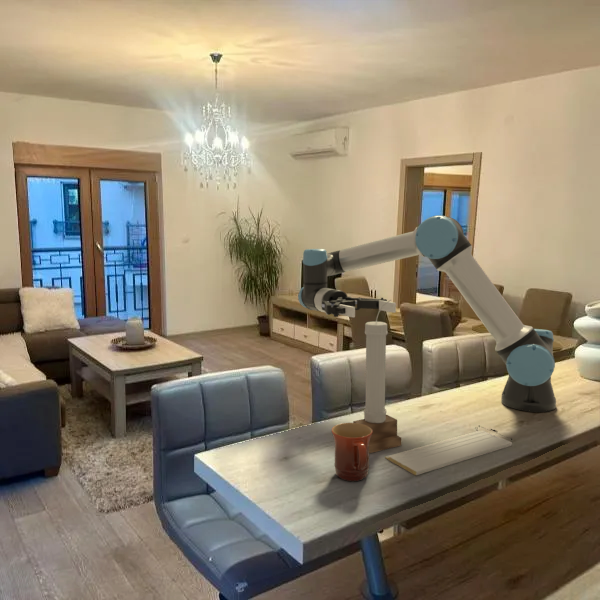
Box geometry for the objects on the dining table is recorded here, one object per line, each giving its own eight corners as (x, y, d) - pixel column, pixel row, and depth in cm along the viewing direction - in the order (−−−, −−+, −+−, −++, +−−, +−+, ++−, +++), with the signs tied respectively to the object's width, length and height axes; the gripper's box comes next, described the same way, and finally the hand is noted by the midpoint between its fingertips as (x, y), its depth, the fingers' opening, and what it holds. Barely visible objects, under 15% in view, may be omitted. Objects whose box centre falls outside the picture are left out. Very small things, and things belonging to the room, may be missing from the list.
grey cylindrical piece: (363, 415, 136) (364, 297, 132) (388, 416, 136) (390, 298, 131) (363, 423, 131) (365, 301, 127) (390, 424, 130) (392, 301, 126)
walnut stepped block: (381, 434, 140) (381, 412, 139) (401, 445, 133) (401, 422, 132) (349, 442, 135) (349, 419, 134) (367, 453, 128) (368, 429, 127)
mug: (326, 468, 120) (326, 424, 119) (364, 464, 122) (364, 421, 121) (342, 494, 109) (342, 445, 107) (383, 489, 110) (384, 441, 109)
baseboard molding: (381, 458, 127) (416, 478, 117) (381, 446, 126) (416, 465, 116) (473, 432, 142) (512, 448, 132) (474, 421, 142) (512, 437, 132)
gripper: (365, 310, 170) (410, 319, 151) (296, 317, 158) (335, 328, 139) (365, 286, 169) (410, 292, 150) (295, 292, 157) (335, 299, 138)
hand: (374, 309), depth 145 cm, fingers open, 13 cm apart
